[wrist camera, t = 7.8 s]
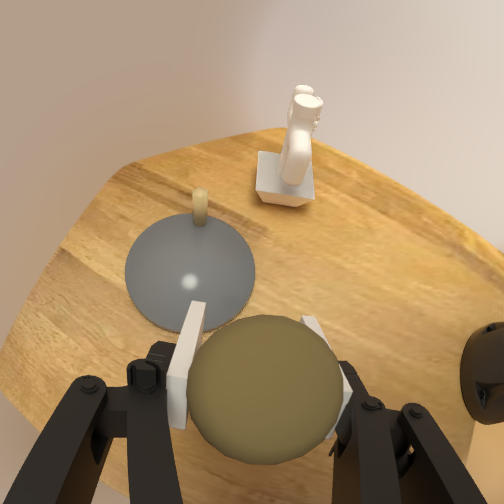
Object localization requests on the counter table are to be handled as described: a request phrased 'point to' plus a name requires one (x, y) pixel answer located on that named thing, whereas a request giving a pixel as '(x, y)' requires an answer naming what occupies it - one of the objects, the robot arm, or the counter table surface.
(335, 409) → the brown rounded upright piece
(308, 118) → the figurine
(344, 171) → the counter table surface
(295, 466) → the counter table surface
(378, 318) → the counter table surface
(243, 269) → the coaster plate
